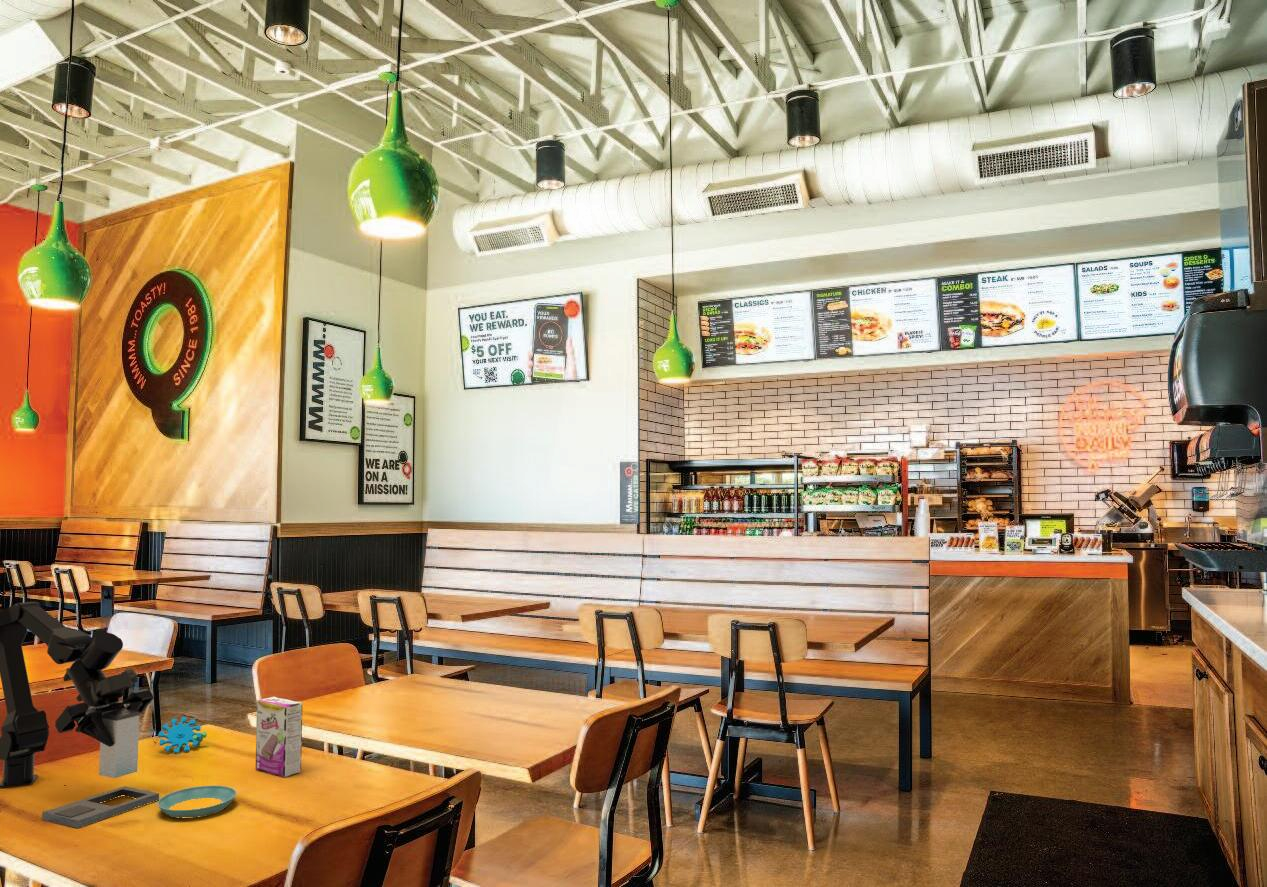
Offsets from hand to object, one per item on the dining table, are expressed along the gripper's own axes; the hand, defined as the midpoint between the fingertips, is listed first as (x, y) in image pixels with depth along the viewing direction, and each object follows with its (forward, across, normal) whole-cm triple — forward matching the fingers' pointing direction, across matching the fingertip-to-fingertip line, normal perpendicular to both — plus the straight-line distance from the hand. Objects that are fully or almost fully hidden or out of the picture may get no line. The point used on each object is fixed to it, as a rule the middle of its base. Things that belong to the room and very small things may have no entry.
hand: (123, 742), depth 186 cm
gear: (-8, +34, +27) cm, 44 cm away
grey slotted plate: (+8, -3, +10) cm, 14 cm away
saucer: (+21, +6, -2) cm, 21 cm away
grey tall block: (+4, 0, +6) cm, 7 cm away
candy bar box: (+18, +31, +1) cm, 35 cm away
